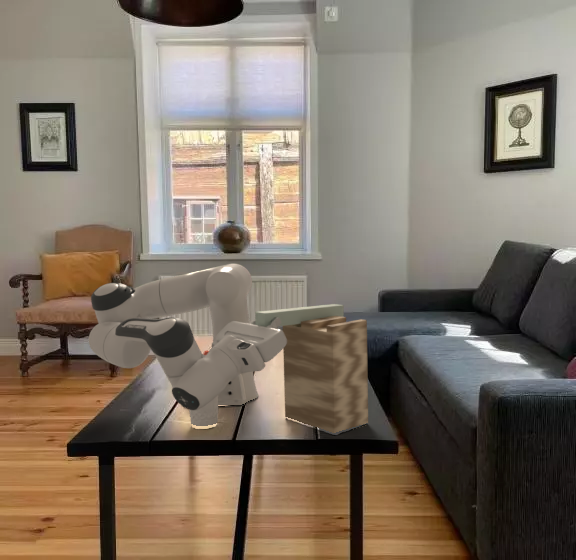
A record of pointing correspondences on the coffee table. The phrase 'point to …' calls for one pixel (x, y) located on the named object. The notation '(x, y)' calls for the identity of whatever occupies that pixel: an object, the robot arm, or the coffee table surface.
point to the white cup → (206, 414)
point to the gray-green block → (298, 314)
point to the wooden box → (326, 373)
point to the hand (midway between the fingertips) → (272, 318)
